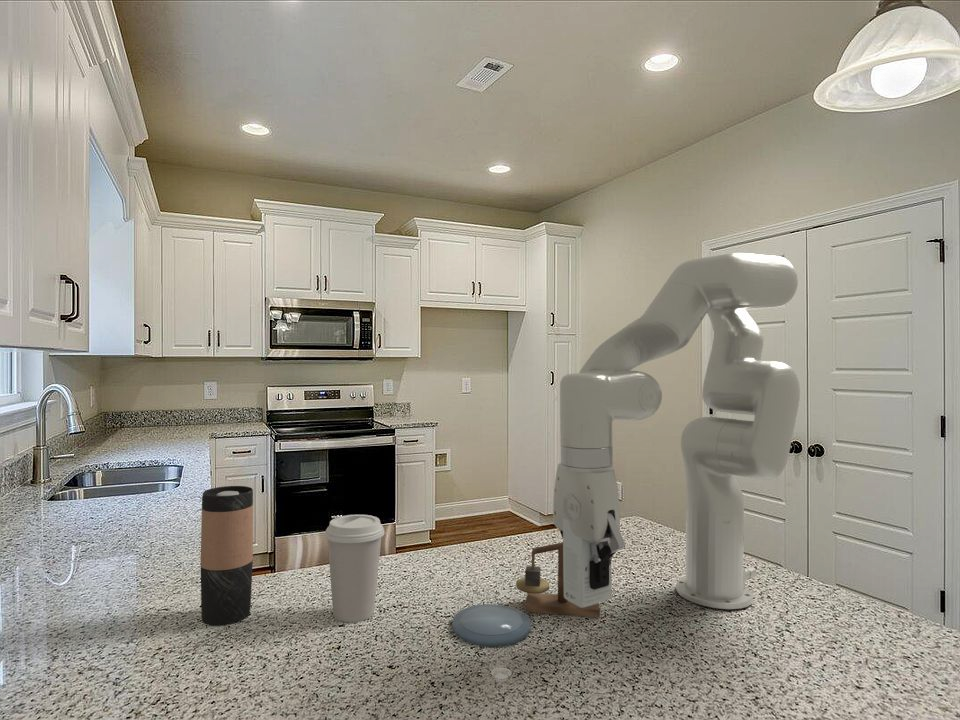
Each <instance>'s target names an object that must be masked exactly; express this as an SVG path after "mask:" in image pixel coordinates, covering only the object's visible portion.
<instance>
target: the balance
mask: <svg viewBox="0 0 960 720" xmlns="http://www.w3.org/2000/svg"><path fill="white" fill-rule="evenodd" d="M531 550H532V551H531V565H526V566H525V573H524V577H520V578H519V579H517V580H516V582H515V583H516V584H515V586H516V588H517V590H518V591H521V592H523V593H526V600H525V604H524V605H525V606H524V607H525V608H524V609H525V612H527V613H537V614H539V613H540V614H549V615H560V616H561V615H563V616H574V617H575V616H576V617H583V618H584V617H588V618H598V619H600V618H601V616H600V615H601V612H600V611H601V610H600V603H597V604H594V605H591V606H587V607H584V608H581V607H579V606H577V605H575V604H573V603H571V602H569V601H568V600H566V599H565V598H564V583H563V541H562V542H558V543H553V544H548V545H543V546H538V547H533V548H531ZM554 551H558V552H557V553H558V554H557V561H558V562H557V594H556V593H546V592H548V591H549V590H550V582H549V581H548V580H547V579H544V578H541V569H542V568H541V566H535V565H536V564H535V557H536V555H538V554H543V553H548V552H554ZM525 612H524V613H525Z"/></svg>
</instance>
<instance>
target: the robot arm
mask: <svg viewBox="0 0 960 720" xmlns="http://www.w3.org/2000/svg"><path fill="white" fill-rule="evenodd" d="M798 279H799V278H798V274H797V271H796V269H795V267H794V266H793V264H792V263H791V262H790V261H789V260H788V259H786V258H785V257H783V256H778V255H767V254H756V253H749V252H748V253H747V252H746V253H745V252H729V253H725V254H724V253H723V254H717V255H711V256H704V257H699V258H693V259H691V260H687V261H684V262H683V263H680V264H679V265H678V266H676V268H675V269H674V270H673V272H672V273H671V274H670V275H669V276H668V278H667V280H666V281H665V283H664V284H663V286H662V287H660V290H659V291H658V293H657V294H656V296H655V297H654V299H653V300H652V302H651V303H650V304H649V306H647V308H646V309H645V311H644V313H643V314H642V315H641V316H640V317H638V318H636V319H635V320H633V321H632V322H630V323H628V324H627V325H626V326H624V327H623V328H622V329H620V330H619V331H617V332H616V333H615V334H613V335H612V336H610V337H609V338H607V339H606V340H604V341H603V342H602V343H601V344H600V345H599V346H598V347H597V348H596V349H595V350H594V351H593V352H592V354H591V355H590V356H589V358H588V359H587V360H586V362H585V363H584V365H583V366H582V367H581V369H580V370H579V372H578V373H568V374H565V375H563V376H562V378H561V380H560V383H559V418H560V419H559V423H560V424H559V428H560V429H559V430H560V431H559V433H560V435H559V436H560V438H559V439H560V440H559V441H560V443H559V444H560V463H558V464H557V468H556V472H555V474H556V475H555V481H554V487H553V488H554V490H553V513H552V515H553V517H552V518H553V524H554V526H555V528H557V529H558V530H559V532H560V535H561V537H562V538H563V517H565V518H566V519H567V520H568V521H569V525H570V528H571V531H572V532H573V534H574V535H575V536H577V537H580V538H582V539H583V540H585V541H587V542H590V544H591V551H592V557H593V560H592V561H590V588H591V589H593V590H595V589H599V588H602V587H606V586H608V585H609V560H610V559H611V560H612V559H613V557H614V555H615V554H617V552H618V551H621V550H622V549H623V548H624V549H625V547H626V542H625V540H624V538H623V536H622V533H621V531H620V529H621V511H620V509H621V508H620V498H619V488H618V482H617V476H616V471H615V469H614V468H613V467H614V466H613V465H614V464H613V463H614V461H613V458H614V455H613V421H614V420H623V421H624V420H625V421H635V422H636V421H642V420H646V419H648V418H650V417H651V416H653V415H654V414H655V413H656V412H657V411H658V409H659V408H660V406H661V403H662V399H663V394H662V393H663V392H662V388H661V386H660V384H659V382H658V381H657V380H656V378H654V377H653V376H652V375H651V374H649V373H647V372H643V371H639V370H633V369H635V368H637V367H638V366H641V365H642V364H643V365H644V364H646V363H648V362H651V361H654V360H657V359H660V358H663V357H666V356H668V355H671V354H673V353H676V352H677V351H679V350H681V349H683V348H684V347H686V346H687V345H688V344H689V342H690V340H691V338H692V337H693V336H694V334H695V332H696V331H697V329H698V328H699V326H700V325H701V323H702V321H703V320H704V318H705V317H706V316H707V315H708V318H709V320H710V323H711V326H712V332H713V338H712V339H713V340H712V344H711V350H710V355H709V357H708V358H709V359H708V363H707V367H706V369H705V370H706V371H705V376H704V381H703V384H702V385H703V386H702V393H701V394H702V400H703V402H704V404H705V405H706V406H707V407H708V408H710V409H711V410H714V411H717V412H720V413H729V414H739V415H746V416H747V415H749V416H750V415H751V416H754V419H753V420H745V419H743V420H742V419H736V418H728V417H717V416H704V417H703V416H702V417H697V418H694V419H692V420H691V421H689V422H688V423H687V424H686V425H685V426H684V428H683V430H682V432H681V436H680V437H681V438H680V448H681V455H682V460H683V465H684V473H685V483H686V499H685V500H686V501H685V503H686V504H685V521H686V522H685V576H684V577H682V578H680V579H678V580H677V581H676V587H675V588H676V592H677V594H678V595H679V596H680V597H681V598H683V599H685V600H687V601H689V602H691V603H693V604H696V605H700V606H703V607H706V608H711V609H719V610H740V609H745V608H747V607H750V606H751V605H752V604H753V601H754V595H753V592H752V591H751V590H750V589H749V588H748V587H746V582H747V581H748V580H749V579H754V578H756V577H757V576H758V572H757V569H756V568H755V567H753V566H748V567H745V568H744V542H745V541H744V535H745V533H744V532H745V527H744V526H745V524H744V523H745V499H744V494H743V490H742V489H741V488H742V487H741V486H740V484H739V482H738V480H737V478H736V476H738V477H744V478H749V479H754V480H763V481H770V480H774V479H777V477H779V476H780V475H781V474H782V473H783V471H784V470H785V468H786V465H787V463H788V459H789V455H790V451H791V444H792V441H793V435H794V430H795V426H796V425H795V424H796V422H797V421H796V420H797V416H798V411H799V406H800V405H799V404H800V398H801V397H800V396H801V388H800V381H799V378H798V375H797V373H796V372H795V370H794V368H792V366H790V365H789V364H787V363H784V362H782V361H775V360H761V358H762V353H763V347H764V336H763V333H762V330H761V328H760V327H759V325H758V323H757V322H756V321H755V320H754V319H753V318H752V316H751V315H750V314H749V312H748V309H761V308H775V307H781V306H784V305H786V304H788V303H789V302H790V301H791V300H792V299H793V297H794V296H795V294H796V292H797V290H798V283H799V280H798ZM570 519H571V520H570ZM571 521H575V522H573V523H572V522H571ZM599 543H602V544H603V548H602V549H601V550H600V549H599Z"/></svg>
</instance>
